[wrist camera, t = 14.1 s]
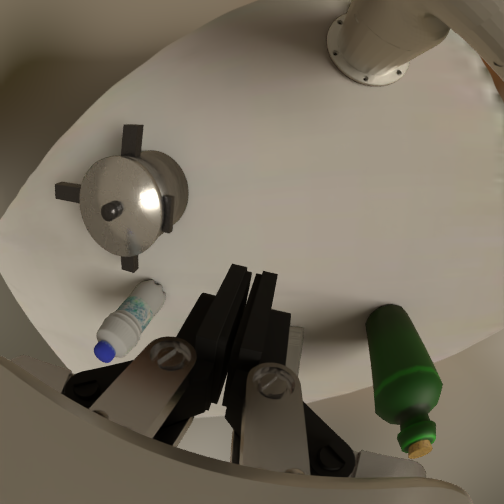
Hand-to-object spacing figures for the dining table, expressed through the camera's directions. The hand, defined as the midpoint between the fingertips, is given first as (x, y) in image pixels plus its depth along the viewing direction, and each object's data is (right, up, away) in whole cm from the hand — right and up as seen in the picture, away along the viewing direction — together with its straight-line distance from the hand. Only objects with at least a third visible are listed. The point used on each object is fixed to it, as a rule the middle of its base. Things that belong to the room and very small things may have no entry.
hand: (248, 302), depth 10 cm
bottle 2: (+25, -11, +37) cm, 47 cm away
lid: (-18, +8, +26) cm, 33 cm away
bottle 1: (-19, -6, +43) cm, 48 cm away
